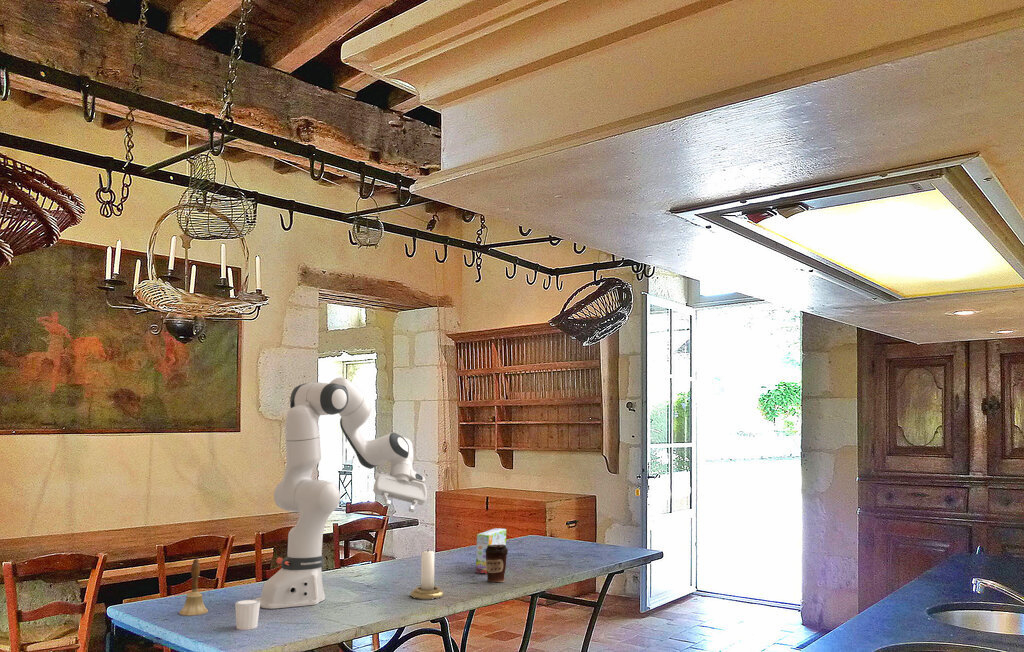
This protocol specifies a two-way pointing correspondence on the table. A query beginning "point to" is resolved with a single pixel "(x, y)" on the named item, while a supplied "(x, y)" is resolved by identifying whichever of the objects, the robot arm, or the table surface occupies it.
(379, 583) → the table surface
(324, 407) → the robot arm
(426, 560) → the candle
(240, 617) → the white tapered cup
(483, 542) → the snack box
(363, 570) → the table surface
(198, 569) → the hand bell
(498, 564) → the coffee cup
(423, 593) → the candle dish
